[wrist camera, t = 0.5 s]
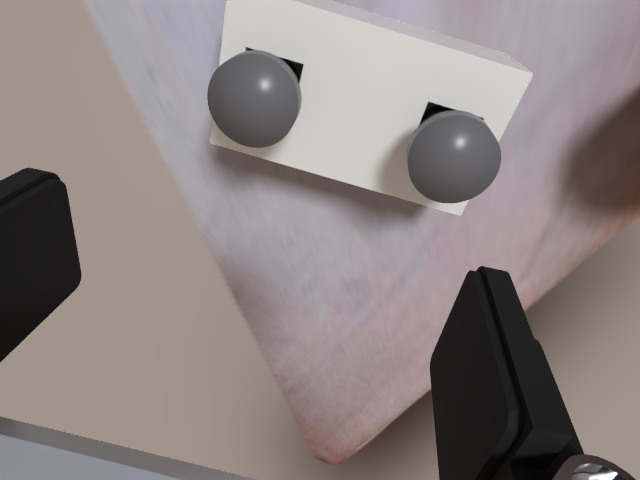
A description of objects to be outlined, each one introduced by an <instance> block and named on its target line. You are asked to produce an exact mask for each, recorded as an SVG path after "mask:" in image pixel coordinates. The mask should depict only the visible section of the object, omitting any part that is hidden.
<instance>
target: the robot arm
mask: <svg viewBox="0 0 640 480" xmlns="http://www.w3.org/2000/svg"><path fill="white" fill-rule="evenodd" d="M80 281H81V269H80V263H79V257H78V251H77V246H76V240H75V234H74V229H73V223H72V217H71V212H70V206H69V200H68V194H67V189H66V185H65V184H64V183H63V182H62V181H60V178H59V177H58V175H56V174H54V173H51V172H47V171H42V170H37V169H33V168H26V169H23V170H21V171H19V172H17V173H15V174H13V175H11V176H9V177H7V178H5V179H3V180H1V181H0V362H1V361H2V360H3V359H4V358H5V357H6V356H7V355H8V354H9V353H10V352H11V351H12V350H13V349H14V348H16V347H17V346H18V345H19V344H20V343H21V342H22V341H23V340H24V339H25V338H26V337H27V336H28V335H29V334H30V333H31V332H32V331H33V330H34V329H35V328H36V327H37V326H38V325H39V324H40V323H41V322H42V321H43V320H44V319H46V318H47V317H48V316H49V315H50V314H51V313H52V312H53V311H54V310H55V309H56V308H57V307H58V306H59V305H60V304H61V303H62V302H63V301H64V300H65V299H66V298H67V297H68V296H69V295H70V294H71V293H72V292H73V291H74V290H75V289H76V288H77V287H78V285H79V283H80ZM430 376H431V387H432V399H433V410H434V421H435V433H436V444H437V456H438V467H439V479H440V480H636V479H635V478H633V477H632V476H631V475H630V474H629V473H628V472H626V471H625V470H623V469H622V468H620V467H618V466H617V465H615V464H614V463H612V462H610V461H608V460H605V459H603V458H600V457H598V456H593V455H587V454H584V452H583V450H582V447H581V445H580V442H579V440H578V437H577V435H576V432H575V430H574V427H573V425H572V422H571V420H570V417H569V414H568V412H567V409H566V407H565V404H564V402H563V400H562V397H561V394H560V392H559V389H558V387H557V384H556V382H555V379H554V377H553V374H552V372H551V369H550V367H549V364H548V362H547V359H546V357H545V354H544V351H543V349H542V347H541V345H540V343H539V342H538V341H537V340H536V339H535V338H534V337H533V334H532V332H531V329H530V326H529V324H528V321H527V319H526V316H525V313H524V311H523V308H522V306H521V303H520V300H519V298H518V295H517V293H516V290H515V287H514V285H513V282H512V280H511V277H510V275H509V273H508V272H506V271H502V270H497V269H493V268H488V267H483V266H481V267H479V268H478V269H477V271H469V272H468V273H467V275H466V277H465V280H464V282H463V284H462V287H461V289H460V291H459V294H458V296H457V298H456V301H455V303H454V305H453V308H452V310H451V312H450V314H449V317H448V319H447V321H446V324H445V326H444V328H443V331H442V333H441V335H440V338H439V340H438V342H437V345H436V347H435V349H434V352H433V354H432V357H431V362H430ZM0 480H256V479H252V478H248V477H244V476H240V475H235V474H231V473H228V472H223V471H220V470H216V469H212V468H208V467H204V466H200V465H196V464H192V463H188V462H184V461H180V460H176V459H172V458H168V457H163V456H159V455H155V454H151V453H147V452H143V451H139V450H135V449H131V448H127V447H123V446H119V445H115V444H110V443H107V442H102V441H98V440H94V439H90V438H86V437H82V436H78V435H74V434H70V433H66V432H61V431H57V430H53V429H49V428H45V427H41V426H36V425H33V424H28V423H24V422H20V421H16V420H12V419H7V418H4V417H0Z"/></svg>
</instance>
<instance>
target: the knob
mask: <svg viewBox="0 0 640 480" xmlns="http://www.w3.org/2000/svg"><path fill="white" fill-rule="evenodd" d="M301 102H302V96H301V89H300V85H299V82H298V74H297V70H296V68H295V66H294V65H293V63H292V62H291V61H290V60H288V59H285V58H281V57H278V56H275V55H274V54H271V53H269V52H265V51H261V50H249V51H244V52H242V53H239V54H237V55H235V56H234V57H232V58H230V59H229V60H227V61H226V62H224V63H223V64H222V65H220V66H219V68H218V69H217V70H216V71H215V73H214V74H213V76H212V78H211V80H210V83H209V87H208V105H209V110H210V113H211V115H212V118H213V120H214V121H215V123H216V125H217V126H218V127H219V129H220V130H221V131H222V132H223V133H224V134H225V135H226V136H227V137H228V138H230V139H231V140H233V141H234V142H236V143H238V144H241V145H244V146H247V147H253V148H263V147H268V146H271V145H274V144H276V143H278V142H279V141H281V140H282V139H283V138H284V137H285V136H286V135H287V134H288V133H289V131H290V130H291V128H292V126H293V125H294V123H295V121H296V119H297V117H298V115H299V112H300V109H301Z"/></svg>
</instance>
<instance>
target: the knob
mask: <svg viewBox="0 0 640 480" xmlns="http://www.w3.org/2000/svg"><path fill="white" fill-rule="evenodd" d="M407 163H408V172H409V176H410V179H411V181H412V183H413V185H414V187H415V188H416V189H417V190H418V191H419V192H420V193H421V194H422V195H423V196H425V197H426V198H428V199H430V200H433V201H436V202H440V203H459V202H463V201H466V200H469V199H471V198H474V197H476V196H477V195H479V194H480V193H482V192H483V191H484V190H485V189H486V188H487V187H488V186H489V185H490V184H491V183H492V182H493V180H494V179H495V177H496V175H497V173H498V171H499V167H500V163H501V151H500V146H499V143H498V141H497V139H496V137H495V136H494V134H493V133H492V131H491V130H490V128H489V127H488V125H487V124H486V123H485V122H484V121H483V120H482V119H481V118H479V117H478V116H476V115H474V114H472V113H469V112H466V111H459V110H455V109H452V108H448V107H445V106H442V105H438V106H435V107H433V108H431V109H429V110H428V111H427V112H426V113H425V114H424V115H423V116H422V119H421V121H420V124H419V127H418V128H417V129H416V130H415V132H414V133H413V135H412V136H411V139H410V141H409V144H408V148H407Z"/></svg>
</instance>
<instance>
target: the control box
mask: <svg viewBox="0 0 640 480" xmlns="http://www.w3.org/2000/svg"><path fill="white" fill-rule="evenodd" d="M249 50H261V51H265V52H269V53H271V54H274V55H275V56H278V57H281V58H285V59H288V60H290V61H291V62H292V63H293V65H294V66H295V68H296V70H297V74H298V82H299V85H300V89H301V96H302V102H301V109H300V112H299V115H298V117H297V119H296V121H295V123H294V125H293V126H292V128H291V130H290V131H289V133H288V134H287V135H286V136H285V137H284V138H283V139H282V140H281V141H279V142H278V143H276V144H274V145H271V146H268V147H263V148H253V147H247V146H244V145H241V144H238V143H236V142H234V141H233V140H231V139H230V138H228V137H227V136H226V135H225V134H224V133H223V132H222V131H221V130H220V129H219V127H218V126H217V125H216V123H215V121H214V120H213V122H212V130H211V139H210V143H211V144H214V145H217V146H221V147H224V148H228V149H231V150H235V151H238V152H242V153H245V154H248V155H252V156H255V157H259V158H262V159H266V160H269V161H273V162H276V163H279V164H283V165H286V166H290V167H293V168H297V169H300V170H304V171H307V172H310V173H314V174H317V175H321V176H324V177H328V178H331V179H335V180H338V181H341V182H345V183H348V184H352V185H355V186H359V187H362V188H366V189H369V190H372V191H376V192H379V193H383V194H386V195H390V196H393V197H397V198H400V199H403V200H407V201H410V202H414V203H417V204H421V205H424V206H428V207H431V208H434V209H438V210H441V211H445V212H448V213H452V214H455V215H459V216H461V214H462V212H463V210H464V208H465V206H466V204H467V202H468V200H466V201H463V202H459V203H440V202H436V201H433V200H430V199H428V198H426V197H425V196H423V195H422V194H421V193H420V192H419V191H418V190H417V189H416V188H415V187H414V185H413V183H412V181H411V179H410V176H409V172H408V163H407V148H408V144H409V141H410V139H411V136H412V135H413V133H414V132H415V130H416V129H417V128H418V127H419V124H420V121H421V119H422V116H423V115H424V114H425V113H426V112H427V111H428V110H429V109H431V108H433V107H435V106H438V105H442V106H445V107H448V108H452V109H455V110H459V111H466V112H469V113H472V114H474V115H476V116H478V117H479V118H481V119H482V120H483V121H484V122H485V123H486V124H487V125H488V127H489V128H490V130H491V131H492V133H493V134H494V136H495V137H496V139H497V141H498V142H499V140H500V138H501V137H502V135H503V133H504V131H505V129H506V127H507V125H508V123H509V121H510V119H511V117H512V115H513V113H514V111H515V109H516V107H517V106H518V104H519V102H520V100H521V98H522V96H523V94H524V92H525V90H526V88H527V86H528V84H529V82H530V80H531V78H532V76H533V75H534V73H532V72H531V71H529V70H528V69H527V68H525V67H524V66H523V65H521V64H520V63H519V62H517V61H516V60H515V59H513V58H512V57H511V56H509V55H508V54H506V53H503V52H500V51H497V50H493V49H490V48H487V47H484V46H480V45H477V44H474V43H470V42H467V41H464V40H461V39H457V38H454V37H451V36H448V35H444V34H441V33H438V32H434V31H431V30H428V29H425V28H421V27H418V26H415V25H411V24H408V23H405V22H402V21H398V20H395V19H392V18H389V17H385V16H382V15H379V14H375V13H372V12H369V11H366V10H362V9H359V8H356V7H353V6H349V5H346V4H343V3H339V2H336V1H333V0H226V8H225V17H224V26H223V35H222V43H221V52H220V61H219V66H220V65H222V64H223V63H224V62H226V61H227V60H229V59H230V58H232V57H234V56H235V55H237V54H239V53H242V52H244V51H249Z"/></svg>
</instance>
